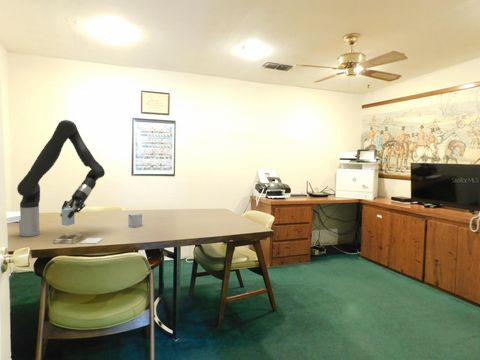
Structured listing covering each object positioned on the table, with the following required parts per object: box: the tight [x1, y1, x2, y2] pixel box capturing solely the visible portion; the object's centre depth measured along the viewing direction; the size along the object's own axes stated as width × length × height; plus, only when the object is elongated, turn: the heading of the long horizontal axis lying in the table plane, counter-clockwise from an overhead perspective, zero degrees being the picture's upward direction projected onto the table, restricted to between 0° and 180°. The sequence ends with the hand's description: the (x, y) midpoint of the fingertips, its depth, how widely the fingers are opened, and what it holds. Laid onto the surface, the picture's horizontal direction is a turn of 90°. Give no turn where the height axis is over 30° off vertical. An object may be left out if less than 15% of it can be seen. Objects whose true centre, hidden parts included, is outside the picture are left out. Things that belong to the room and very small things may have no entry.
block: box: [61, 207, 75, 227], centre depth 172 cm, size 4×4×9 cm
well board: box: [52, 233, 84, 245], centre depth 173 cm, size 11×11×2 cm
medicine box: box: [127, 212, 143, 229], centre depth 210 cm, size 8×4×9 cm, turn 141°
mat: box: [79, 237, 104, 245], centre depth 174 cm, size 9×10×1 cm
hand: (65, 217), depth 170 cm, fingers closed on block, 4 cm apart
